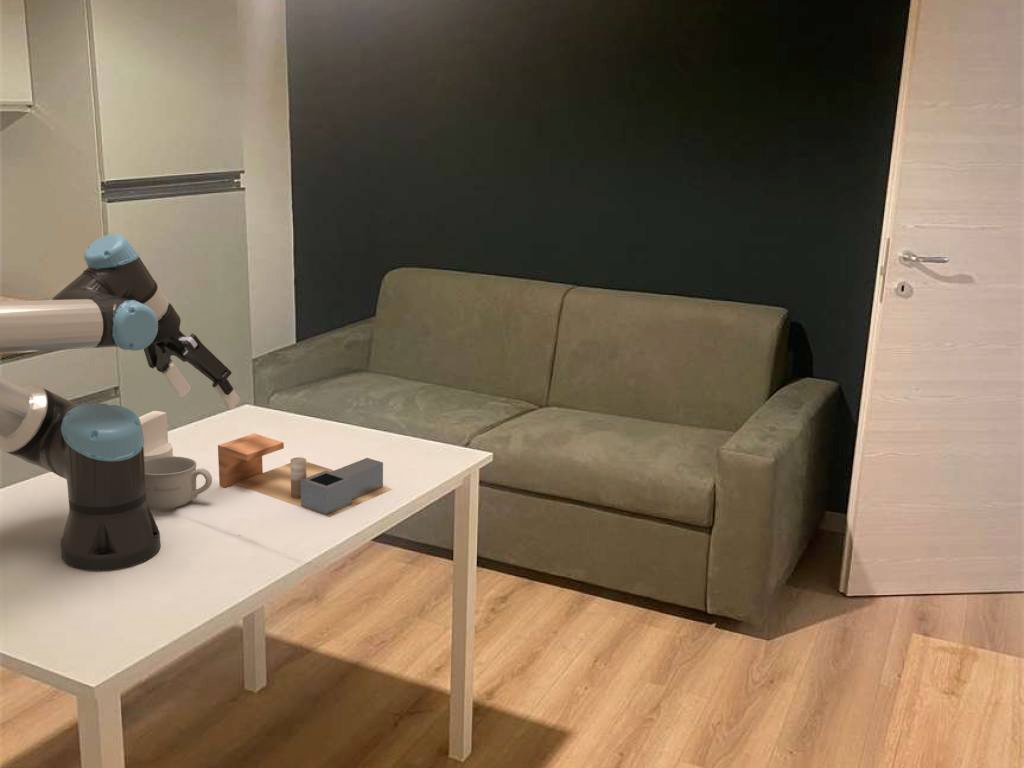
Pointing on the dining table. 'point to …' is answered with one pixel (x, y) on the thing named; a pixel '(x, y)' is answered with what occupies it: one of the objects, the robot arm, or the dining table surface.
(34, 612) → the dining table surface
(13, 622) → the dining table surface
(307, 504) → the grey socket block
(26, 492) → the dining table surface
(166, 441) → the cylinder with rectangular tab
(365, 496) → the board
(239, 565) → the dining table surface
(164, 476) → the teacup
